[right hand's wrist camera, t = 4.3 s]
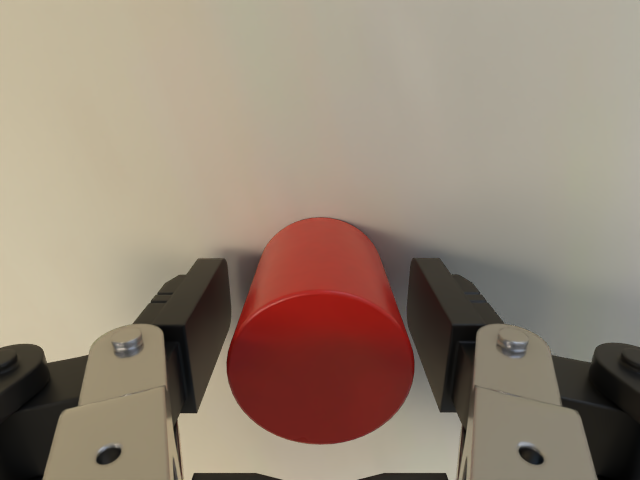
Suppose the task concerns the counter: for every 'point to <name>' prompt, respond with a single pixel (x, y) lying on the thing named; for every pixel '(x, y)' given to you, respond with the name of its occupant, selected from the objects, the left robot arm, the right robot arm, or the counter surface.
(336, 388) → the canister
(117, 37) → the counter surface
